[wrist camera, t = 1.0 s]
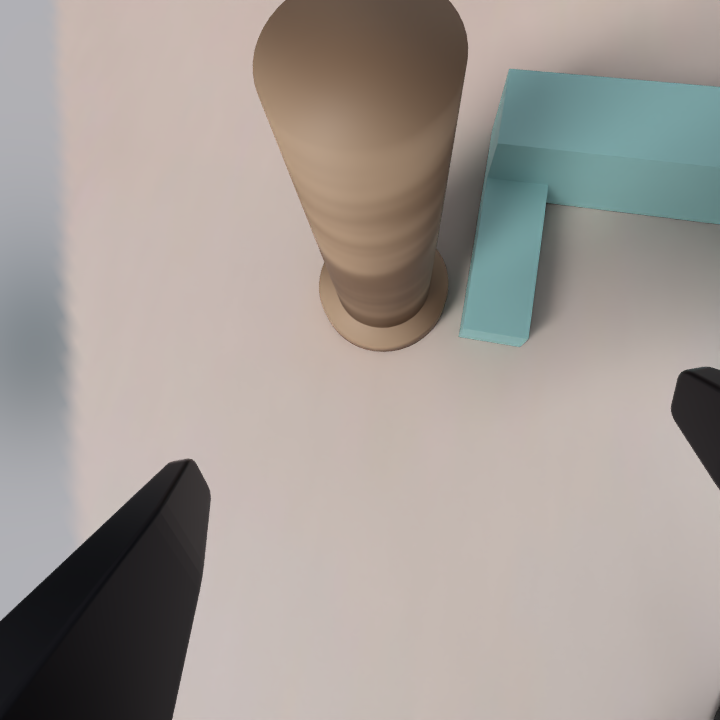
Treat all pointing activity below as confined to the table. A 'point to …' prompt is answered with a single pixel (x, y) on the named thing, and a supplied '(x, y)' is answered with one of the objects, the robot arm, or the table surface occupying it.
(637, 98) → the notched board
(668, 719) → the table surface
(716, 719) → the pen holder
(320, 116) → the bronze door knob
